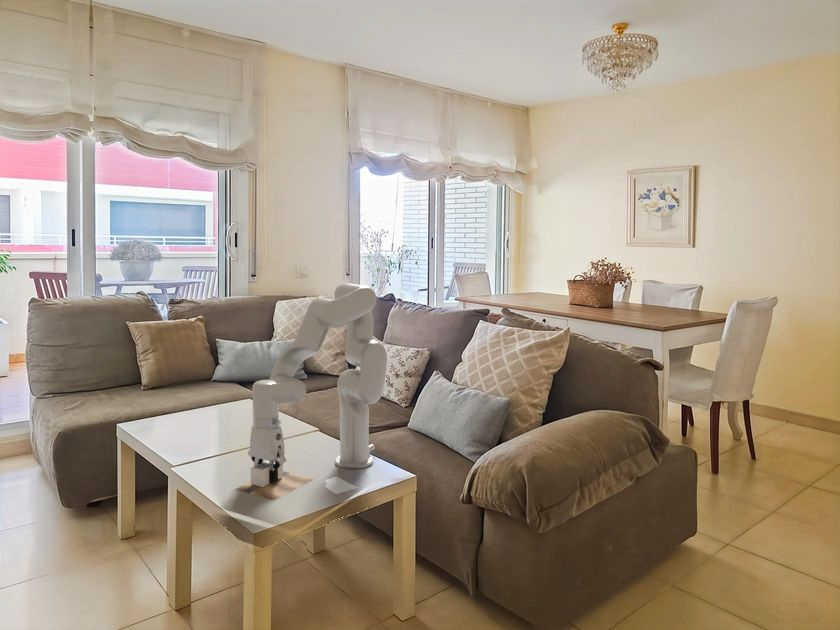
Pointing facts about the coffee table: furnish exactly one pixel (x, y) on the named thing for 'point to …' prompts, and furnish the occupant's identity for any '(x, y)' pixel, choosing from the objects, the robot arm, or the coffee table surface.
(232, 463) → the coffee table surface
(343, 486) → the hard drive
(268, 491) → the subfloor board
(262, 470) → the stud finder
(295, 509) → the coffee table surface
